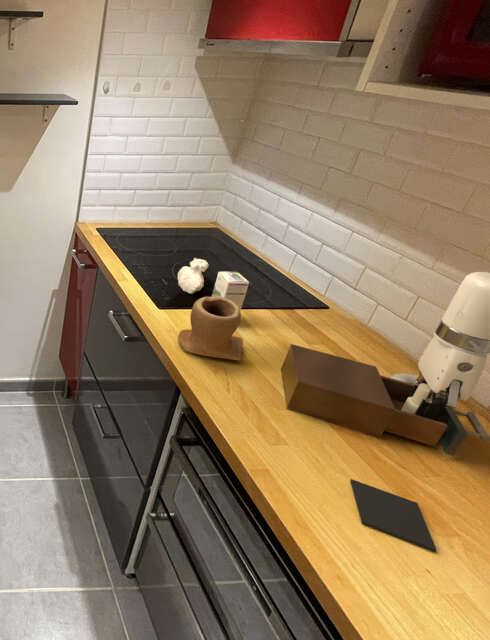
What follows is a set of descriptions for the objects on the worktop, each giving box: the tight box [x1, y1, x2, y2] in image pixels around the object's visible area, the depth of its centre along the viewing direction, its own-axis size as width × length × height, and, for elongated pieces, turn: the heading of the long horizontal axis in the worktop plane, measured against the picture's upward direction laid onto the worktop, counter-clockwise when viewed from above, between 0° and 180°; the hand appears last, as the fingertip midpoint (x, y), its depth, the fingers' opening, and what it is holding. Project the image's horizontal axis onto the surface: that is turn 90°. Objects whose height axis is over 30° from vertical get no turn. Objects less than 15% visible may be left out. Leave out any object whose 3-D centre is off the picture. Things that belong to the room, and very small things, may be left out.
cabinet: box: [280, 343, 395, 439], centre depth 97 cm, size 16×15×8 cm
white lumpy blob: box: [177, 257, 210, 295], centre depth 141 cm, size 12×8×11 cm
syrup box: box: [211, 271, 250, 311], centre depth 123 cm, size 6×6×14 cm
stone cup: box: [178, 296, 244, 361], centre depth 110 cm, size 15×12×15 cm
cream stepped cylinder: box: [401, 383, 439, 414], centre depth 90 cm, size 4×4×8 cm
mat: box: [350, 478, 437, 553], centre depth 75 cm, size 9×9×1 cm
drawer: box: [380, 374, 490, 456], centre depth 91 cm, size 19×13×6 cm
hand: (421, 409), depth 90 cm, fingers closed on cream stepped cylinder, 4 cm apart
